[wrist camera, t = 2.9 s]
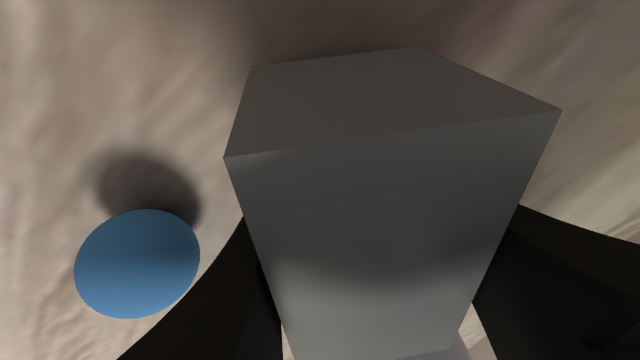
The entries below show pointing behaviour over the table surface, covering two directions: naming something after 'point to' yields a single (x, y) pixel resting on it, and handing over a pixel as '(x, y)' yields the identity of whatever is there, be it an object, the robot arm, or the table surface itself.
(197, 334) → the robot arm
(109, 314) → the ball
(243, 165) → the grey rectangular box
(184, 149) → the table surface
